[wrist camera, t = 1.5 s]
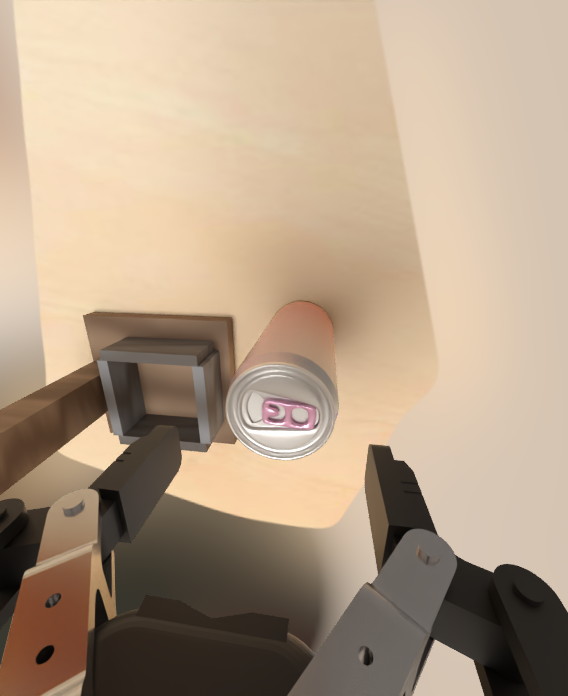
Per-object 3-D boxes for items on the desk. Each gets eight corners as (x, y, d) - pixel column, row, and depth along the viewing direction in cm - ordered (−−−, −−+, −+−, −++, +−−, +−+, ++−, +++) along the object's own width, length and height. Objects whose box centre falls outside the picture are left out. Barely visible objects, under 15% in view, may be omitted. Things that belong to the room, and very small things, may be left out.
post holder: (93, 312, 31) (-164, 391, 15) (231, 317, 29) (111, 414, 13) (118, 424, 36) (-55, 578, 20) (238, 435, 34) (157, 615, 18)
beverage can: (328, 362, 29) (331, 471, 15) (270, 355, 30) (221, 454, 16) (336, 303, 27) (347, 368, 13) (273, 296, 28) (220, 353, 14)
